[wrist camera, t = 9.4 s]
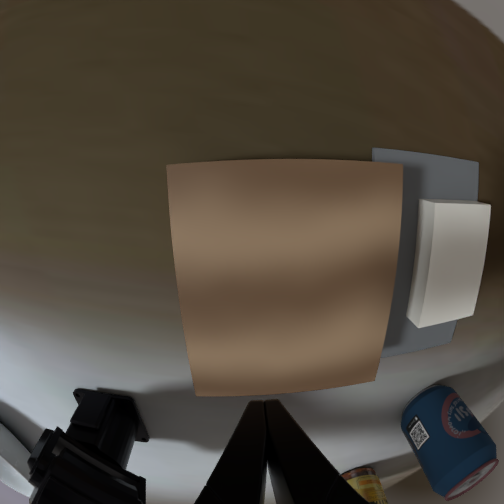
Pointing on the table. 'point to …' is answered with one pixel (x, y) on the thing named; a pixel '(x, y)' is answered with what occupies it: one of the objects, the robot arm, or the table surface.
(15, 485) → the serving bowl
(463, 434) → the soda can
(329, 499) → the robot arm
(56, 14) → the table surface
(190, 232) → the tan square plate
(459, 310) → the white rectangular block
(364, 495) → the sauce bottle
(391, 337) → the mat
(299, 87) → the table surface
